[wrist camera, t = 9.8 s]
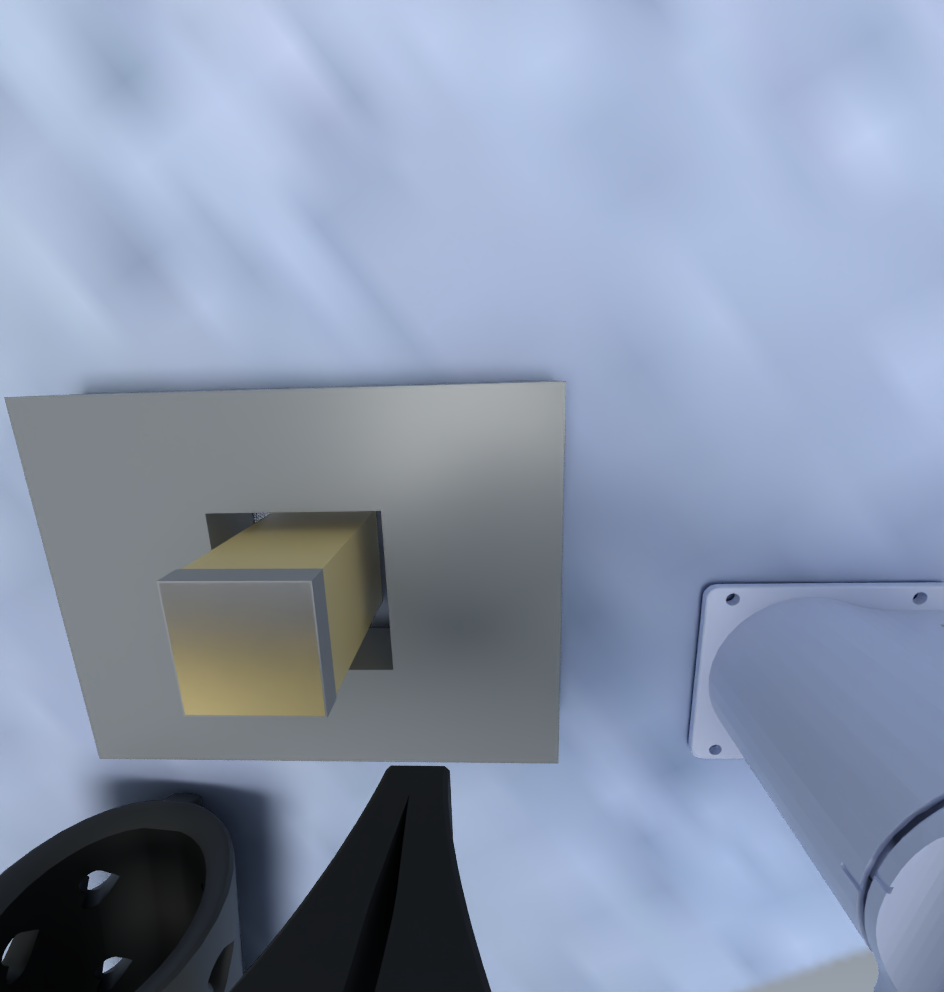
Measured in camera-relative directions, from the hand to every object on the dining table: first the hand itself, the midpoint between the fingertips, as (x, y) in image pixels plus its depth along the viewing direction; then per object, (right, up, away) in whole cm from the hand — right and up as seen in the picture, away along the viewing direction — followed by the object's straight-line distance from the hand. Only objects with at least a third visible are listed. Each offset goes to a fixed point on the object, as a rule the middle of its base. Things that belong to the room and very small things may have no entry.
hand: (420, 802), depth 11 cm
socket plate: (-5, +4, +9) cm, 11 cm away
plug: (-5, +4, +9) cm, 11 cm away
